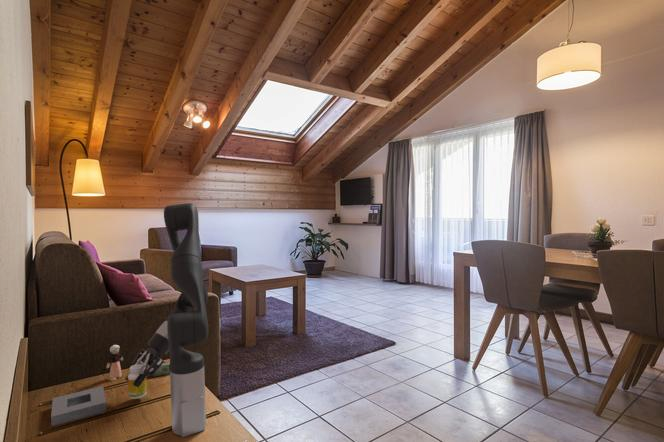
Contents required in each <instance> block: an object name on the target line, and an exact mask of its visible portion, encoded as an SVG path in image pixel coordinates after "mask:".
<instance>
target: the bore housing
mask: <svg viewBox="0 0 664 442" xmlns="http://www.w3.org/2000/svg"><path fill="white" fill-rule="evenodd" d="M51 404H52V405H51V413H50V416H51V417H50V422H51V424H50V425H51V428H52V426H53V427H56V426H60V425H63V424H67V423H71V422H75V421H77V420H81V419H85V418H89V417H92V416H96V415H100V414H102V413H103V414H104V413H107V412H108V411H107V409H108V408H107V398H106V394H105V388H104V386H103V385H102V386H101V385H100V386H99V387H98V386H97V387H93V388H90V389H89V388H88V389H85V390H82V391H77V392H73V393H68V394H65V395H60V396H57V397H52V403H51Z"/></svg>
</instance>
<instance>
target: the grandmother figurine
mask: <svg viewBox="0 0 664 442" xmlns="http://www.w3.org/2000/svg"><path fill="white" fill-rule="evenodd" d="M109 351H110V353H111V355H110V357H109V359H108V361H107V364H106V369H109V368H110V370H109V379H108V380H109V381H111V382H113V381H116V380H118V379H119V378H121V377H122V368H121V363H120V361H124V358H123V355H122V354H121V353H119V352H120V345H118V344H113V345H112V346H110V348H109Z"/></svg>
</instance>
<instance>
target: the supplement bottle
mask: <svg viewBox="0 0 664 442" xmlns="http://www.w3.org/2000/svg"><path fill="white" fill-rule="evenodd" d="M142 370H143V365H142V364H137V365H133V366H132V365H131V366H130V367H129V373H130V374H129V373H128V374H129V375H128V374H127V375H128V381H127V388H128V389H127V390H128V391H127V392H128V397H129V398H130V399H131V400H136V399H140V398H143V397H144V396H146V394H147V391H148V390H147V389H148V388H147V377H146V378H145V379H144V381H143V382H142V383H141V385H140V386H139V387H136V386H134V385H133V382H134V381H135V380H136V378H137V377H138V376H139V374H141V372H142Z"/></svg>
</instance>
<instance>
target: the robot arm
mask: <svg viewBox="0 0 664 442" xmlns="http://www.w3.org/2000/svg"><path fill="white" fill-rule="evenodd" d="M163 219H164V221H163V222H164V225H165V229H166V231H167V234H168V238H169V242H170V244H171V248H172V250H173V253H172V255H171V259H170V272H171V273H170V274H171V275H170V276H171V279H172V281H173V282H174V284H175V286H176V287H178V289H179V290H180V291H181V292H180V294H179V296H178V298H177V300H176V302H175V305H174V307H173V309H172V311H171V313H170V314H169V315H168V317H167V318H166V319H165V321H163V323H162V324H161V325H160V326H159V327H158V328H157V330H156V331H155V333H154V334H153V335H152V336H151V338H150V339H149V340H148V342H147V345H148V348H147V349H146V350H144V349H143V348H141V349H139V350H138V351H139V352H138V353H137V355H136V356H135V358H134V359H133V360H132V362H131V364H130V365H131V366H133V365H137V364H142V365H143V370H142V372H141V374H139V376H138V377H137V378H136V380H135V381H134V382H133V385H134V386H136V387H139V386H140V385H141V383H142V382H143V381H144V379H145V378H146V379H147V378H149V377H150V378H151V377H153V376H152V375H153V374H154V373H155V372H156V371H157V370H158V368H159V367H160V366H161V365H162V364H163V363H165V360H163V359H162V356H163V355H165V356H166V355H168V353H169V363H170V375H169V377H170V379H169V380H170V381H169V382H170V383H169V385H170V403H171V404H170V407H171V429H172V433H173V434H174V435H176V436H181V438H185V437H188V436H191V435H193V434H196V433H200V432H203V431H204V430H205V429H206V428H205V427H206V426H207V411H206V410H207V408H206V385H205V384H206V383H205V381H206V379H205V358H204V356H203V355H202V354H201V353H199V352H194V351H190V350H187V349H185V348H183V346H190V345H196V344H201V343H205V342H206V341H207V340H208V337H209V323H208V322H209V321H208V314H207V307H206V306H207V304H208V302H209V293H208V290H207V288H206V286H205V283H204V281H203V264H202V263H203V262H202V256H201V254H202V253H201V248H200V235H199V232H200V228H199V226H200V225H199V211H198V207H197V206H196V205H195V204H194V203H192V202H191V203H190V202H187V203H179V204H178V203H177V204H171V205H166V206H165V207H164V209H163ZM179 231H186V233H185V236H184V237H183V239H181V238H180V235H179ZM191 308H192V309H193V311H190V309H191ZM146 369H147V370H146ZM151 370H153V371H152V372H151ZM129 374H130V372H129V373H128V374H127V375H126V376H125V379H124V380H125V381H126V382H128V375H129Z"/></svg>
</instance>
